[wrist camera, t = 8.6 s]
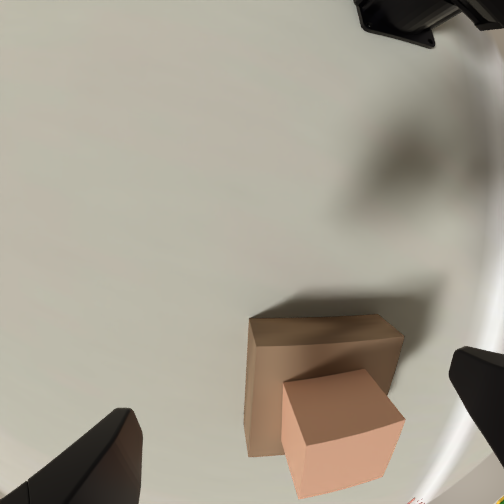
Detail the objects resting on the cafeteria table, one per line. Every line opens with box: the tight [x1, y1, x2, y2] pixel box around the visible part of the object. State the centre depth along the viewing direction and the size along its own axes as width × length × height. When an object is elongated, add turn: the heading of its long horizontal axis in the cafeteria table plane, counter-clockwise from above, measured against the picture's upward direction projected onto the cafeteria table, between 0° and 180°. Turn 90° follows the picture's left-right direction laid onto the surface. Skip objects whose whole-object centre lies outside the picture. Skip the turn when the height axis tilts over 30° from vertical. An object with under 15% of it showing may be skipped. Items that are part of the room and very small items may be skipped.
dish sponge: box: [496, 496, 504, 504], centre depth 46 cm, size 7×14×2 cm, turn 22°
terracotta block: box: [281, 369, 406, 499], centre depth 14 cm, size 5×5×5 cm
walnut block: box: [244, 314, 405, 457], centre depth 18 cm, size 9×9×4 cm
